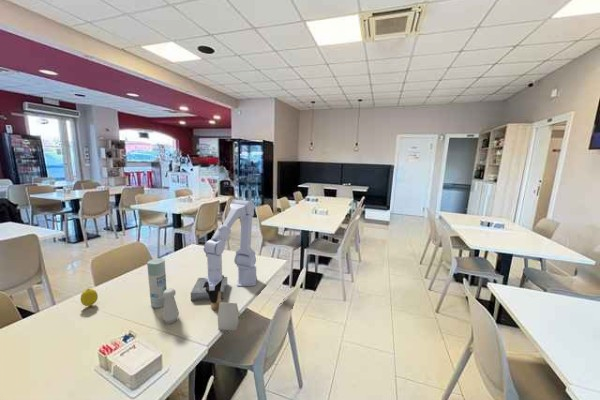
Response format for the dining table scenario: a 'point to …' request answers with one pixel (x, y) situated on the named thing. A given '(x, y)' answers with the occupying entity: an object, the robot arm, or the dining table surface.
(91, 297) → the lemon
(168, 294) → the salt shaker
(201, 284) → the steel block
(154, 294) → the spray paint can
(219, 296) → the oak peg
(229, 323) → the white printed box
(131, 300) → the dining table surface
